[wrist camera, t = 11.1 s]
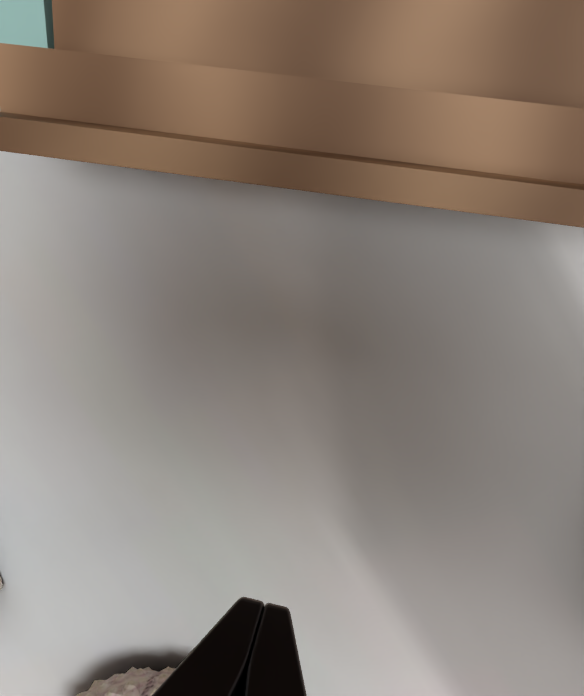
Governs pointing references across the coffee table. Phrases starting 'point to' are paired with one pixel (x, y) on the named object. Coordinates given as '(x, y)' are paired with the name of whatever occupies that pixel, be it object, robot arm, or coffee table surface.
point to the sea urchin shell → (129, 683)
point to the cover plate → (27, 23)
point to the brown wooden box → (318, 97)
